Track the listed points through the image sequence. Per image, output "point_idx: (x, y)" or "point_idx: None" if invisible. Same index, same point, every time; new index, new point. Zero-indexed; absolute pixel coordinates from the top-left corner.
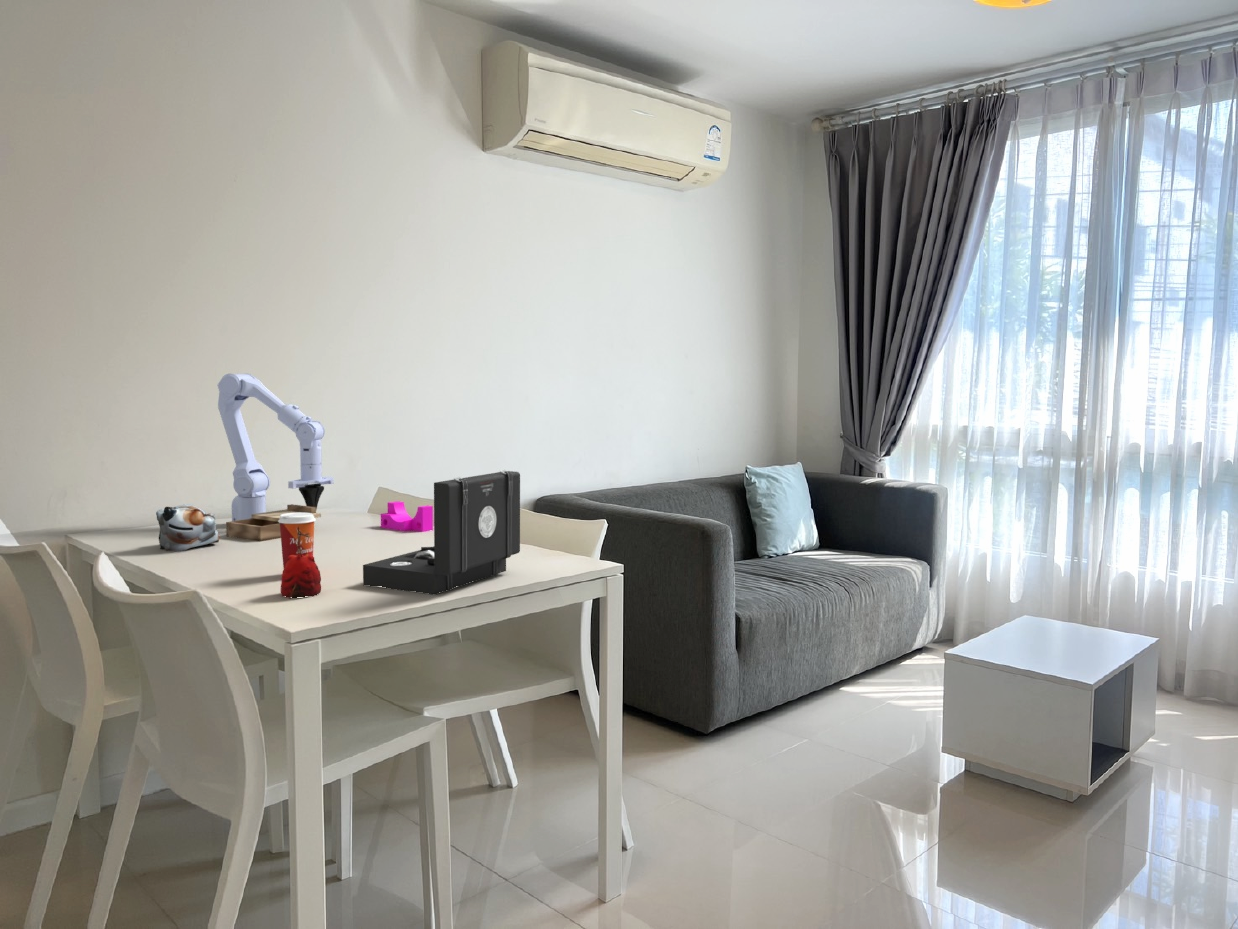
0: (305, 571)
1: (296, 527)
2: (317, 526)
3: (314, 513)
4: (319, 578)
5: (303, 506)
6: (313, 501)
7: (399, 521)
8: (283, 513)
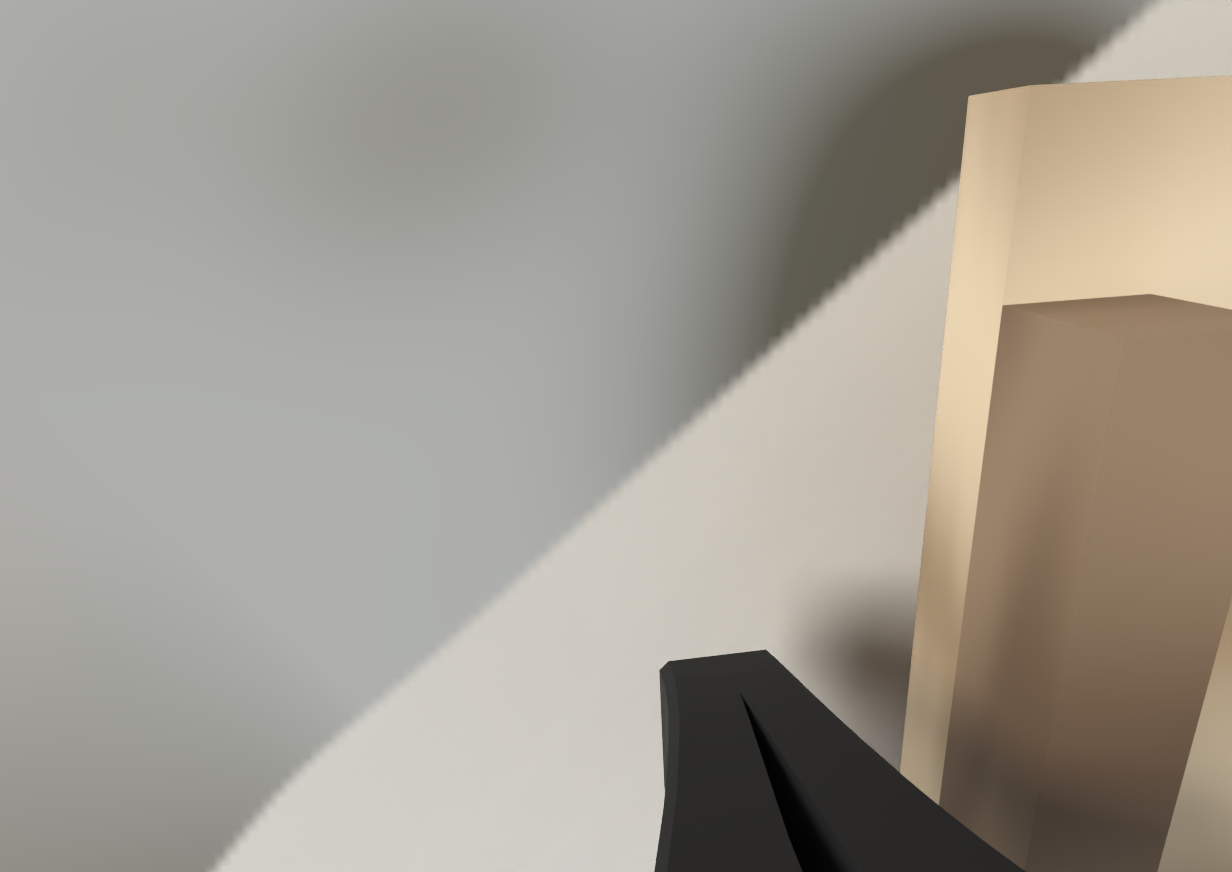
0: None
1: None
2: (519, 591)
3: (1102, 249)
4: None
5: (1142, 723)
6: (899, 818)
7: None
8: None
